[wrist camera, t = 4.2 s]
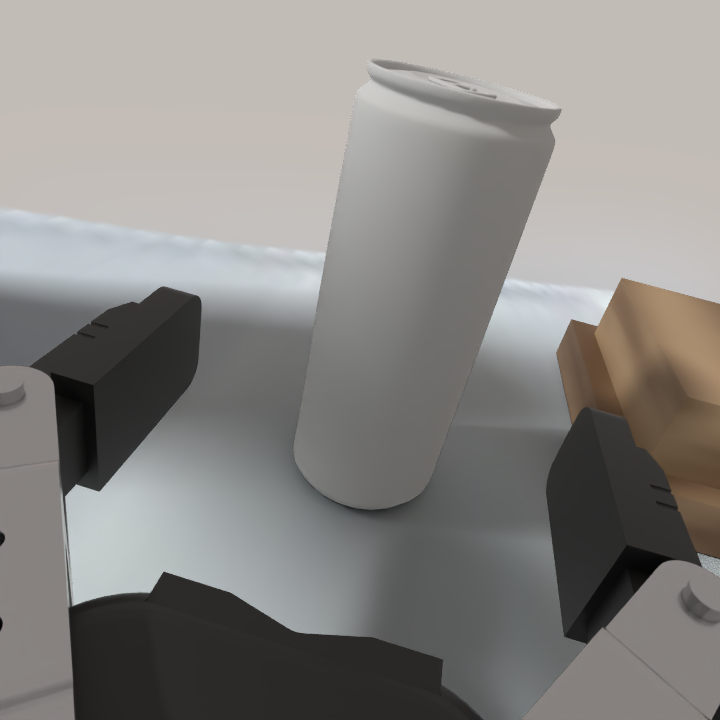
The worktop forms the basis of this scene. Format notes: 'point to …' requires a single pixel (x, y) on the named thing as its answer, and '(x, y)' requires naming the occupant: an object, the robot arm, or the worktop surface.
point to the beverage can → (413, 273)
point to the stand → (657, 390)
